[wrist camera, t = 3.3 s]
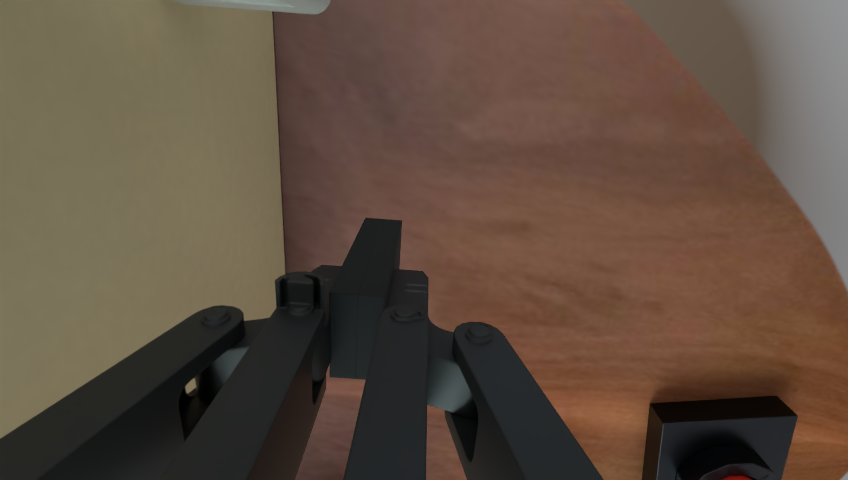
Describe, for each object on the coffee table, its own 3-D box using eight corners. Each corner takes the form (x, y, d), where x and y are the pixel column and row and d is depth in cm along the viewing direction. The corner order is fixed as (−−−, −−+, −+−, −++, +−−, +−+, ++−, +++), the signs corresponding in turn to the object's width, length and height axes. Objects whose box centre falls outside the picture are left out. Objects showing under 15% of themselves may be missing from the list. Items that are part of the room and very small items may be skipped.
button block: (649, 403, 35) (675, 442, 31) (776, 395, 34) (818, 434, 31) (639, 507, 39) (660, 552, 35) (751, 501, 38) (786, 547, 35)
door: (370, -35, 24) (-307, -1224, 2) (362, 347, 34) (217, 869, 11) (252, -43, 24) (-1653, -1327, 2) (276, 341, 33) (-36, 850, 11)
